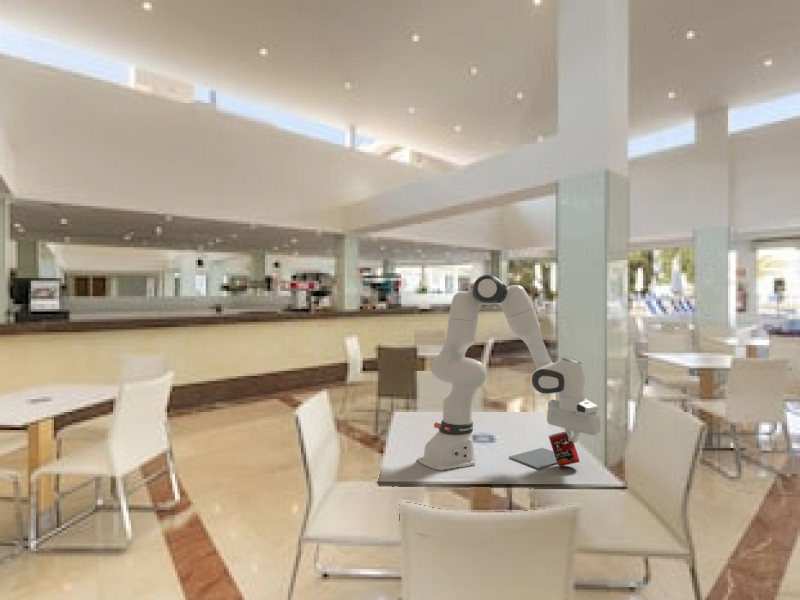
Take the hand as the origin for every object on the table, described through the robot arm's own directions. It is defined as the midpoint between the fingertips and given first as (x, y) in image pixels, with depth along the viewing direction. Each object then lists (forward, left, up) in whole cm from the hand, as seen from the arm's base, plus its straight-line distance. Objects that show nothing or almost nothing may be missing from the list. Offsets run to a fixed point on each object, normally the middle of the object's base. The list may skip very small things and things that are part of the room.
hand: (572, 441), depth 169 cm
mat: (0, +14, -10) cm, 17 cm away
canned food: (0, +1, -9) cm, 9 cm away
